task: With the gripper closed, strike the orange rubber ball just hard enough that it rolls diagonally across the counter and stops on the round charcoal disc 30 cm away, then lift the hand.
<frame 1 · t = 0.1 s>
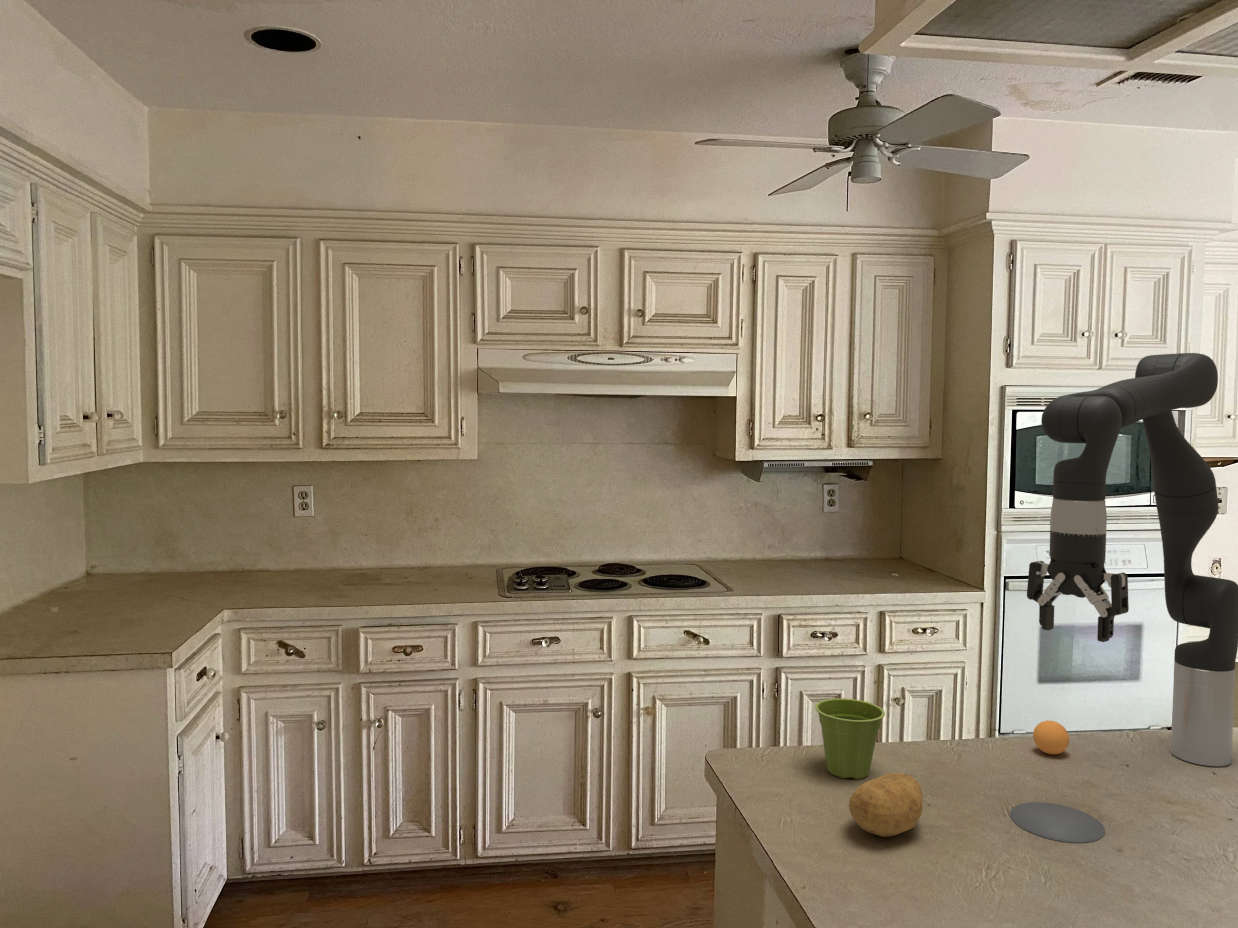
hand: (1074, 634, 133), 29 cm above the counter, tool pointing down, fingers open, 8 cm apart
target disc: (1056, 822, 135), on the counter
potato: (887, 831, 132), on the counter
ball: (1051, 737, 162), on the counter
plant pot: (848, 772, 154), on the counter
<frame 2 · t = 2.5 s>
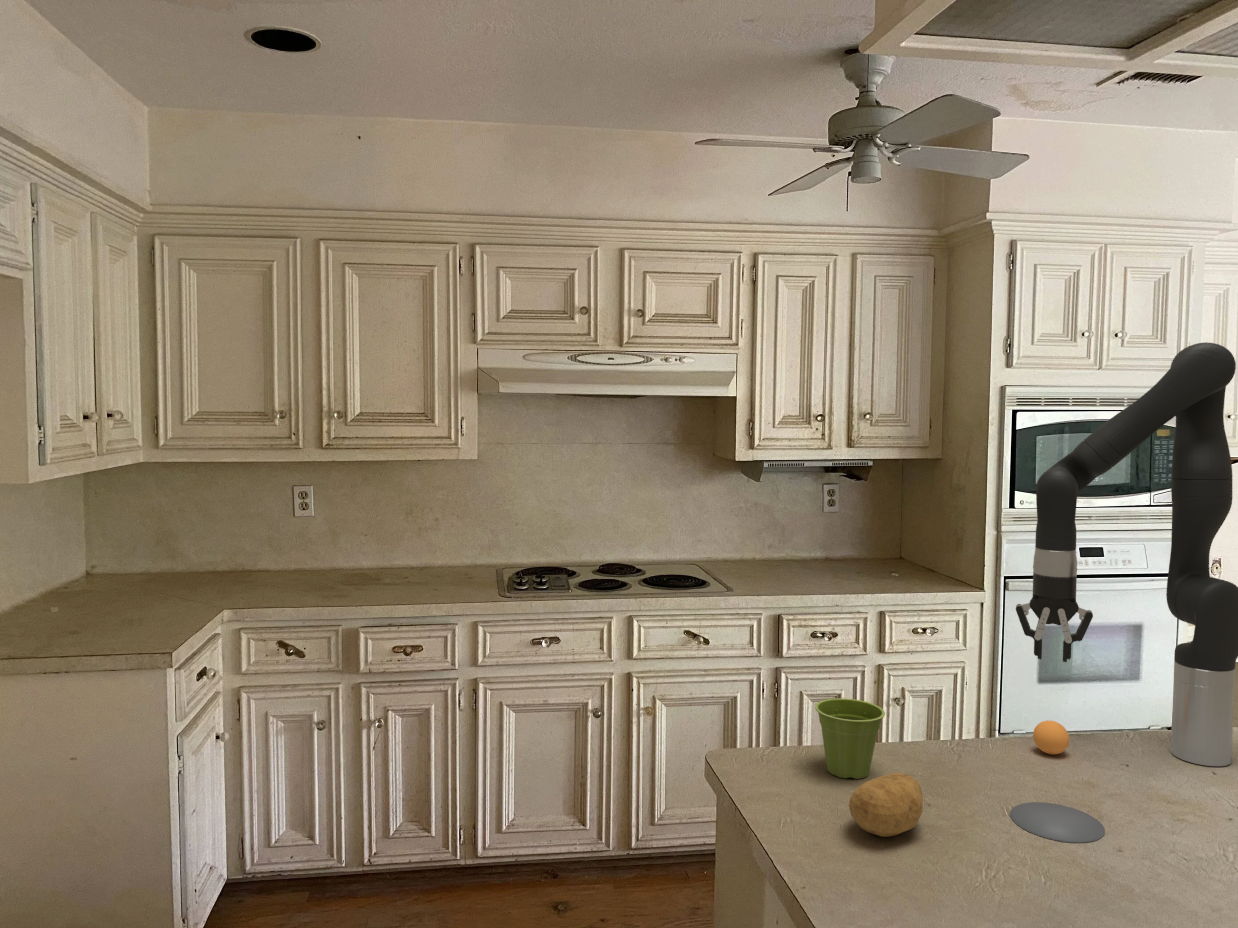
hand: (1052, 659, 170), 15 cm above the counter, tool pointing down, fingers open, 3 cm apart
nothing on the counter moved.
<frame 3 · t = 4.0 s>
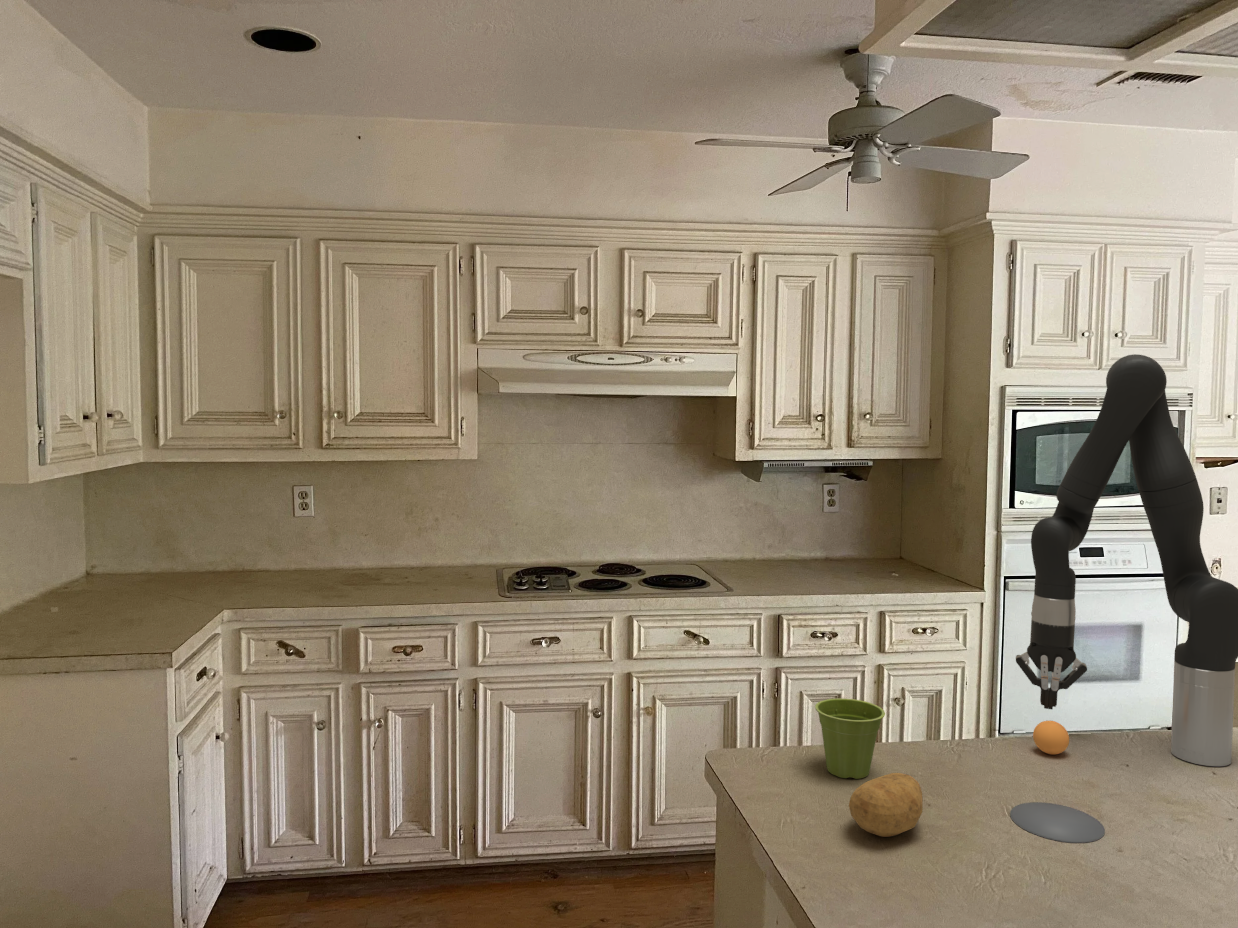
hand: (1048, 707, 169), 6 cm above the counter, tool pointing down, fingers closed
nothing on the counter moved.
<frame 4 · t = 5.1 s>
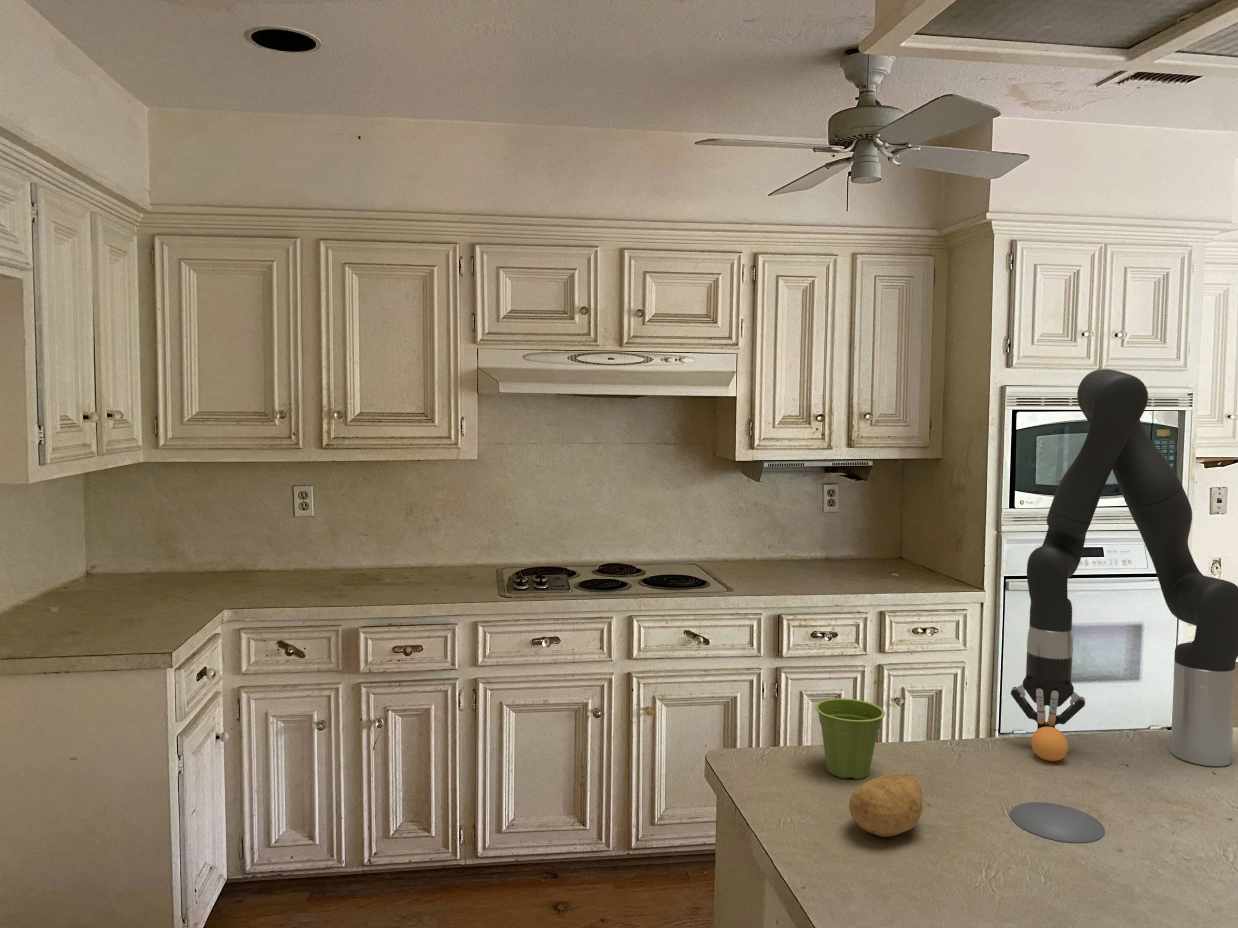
hand: (1045, 742, 163), 2 cm above the counter, tool pointing down, fingers closed
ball: (1049, 743, 159), on the counter, touching gripper
everything else where it was.
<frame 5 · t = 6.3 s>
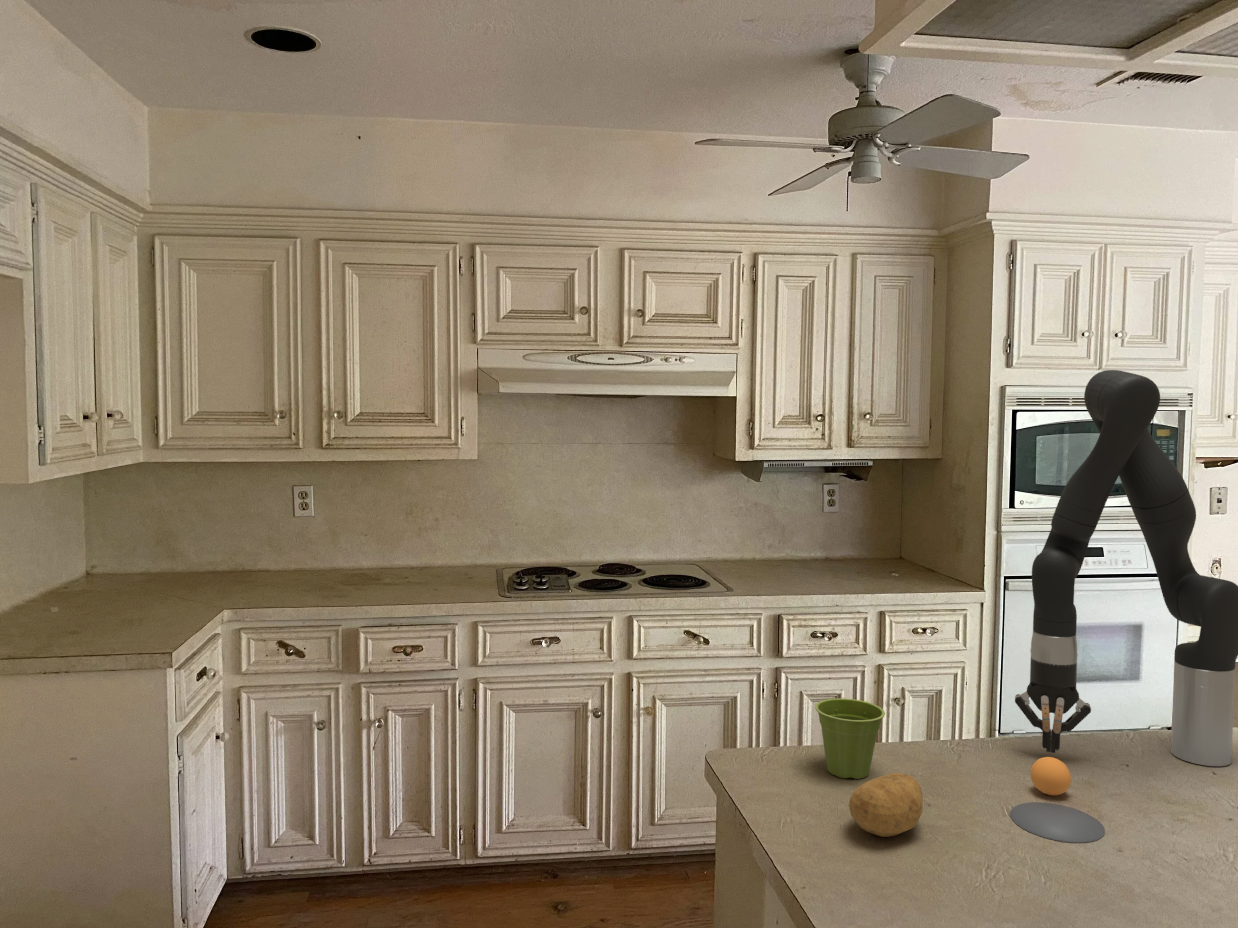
hand: (1050, 750, 159), 1 cm above the counter, tool pointing down, fingers closed
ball: (1050, 775, 145), on the counter
everything else where it was.
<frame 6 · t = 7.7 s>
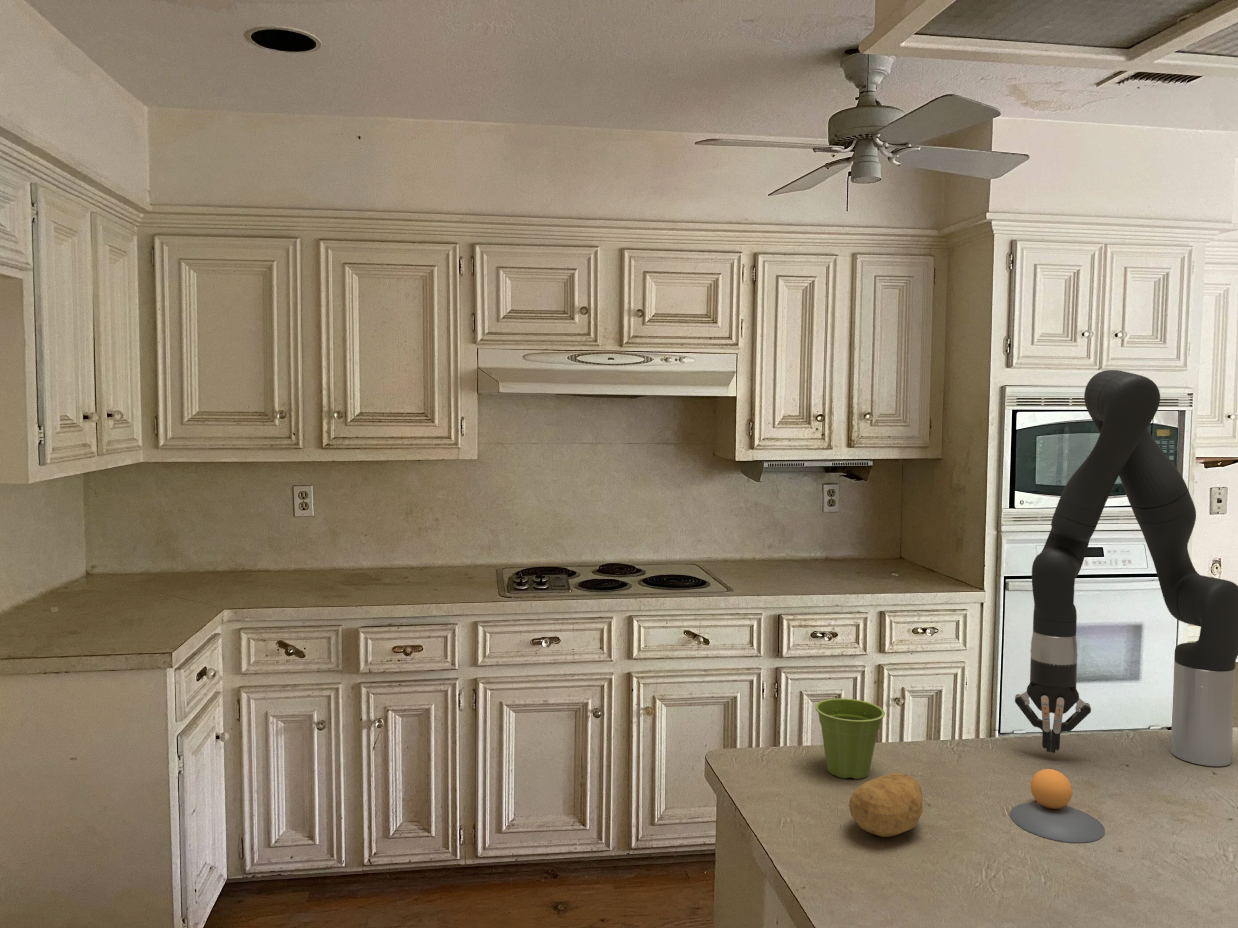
hand: (1050, 750, 159), 1 cm above the counter, tool pointing down, fingers closed
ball: (1051, 788, 140), resting on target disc
everything else where it was.
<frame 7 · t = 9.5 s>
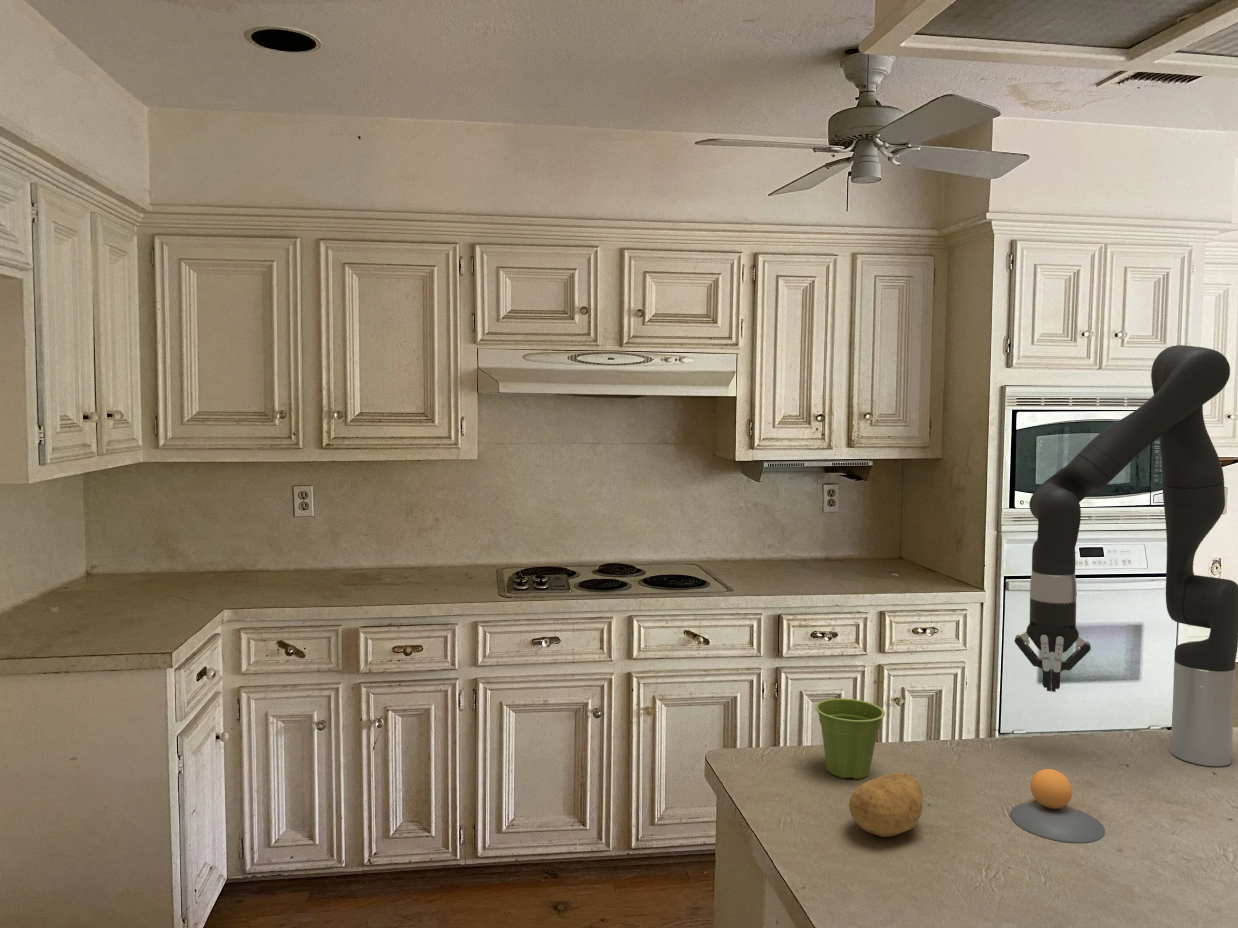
hand: (1051, 690, 159), 12 cm above the counter, tool pointing down, fingers closed
nothing on the counter moved.
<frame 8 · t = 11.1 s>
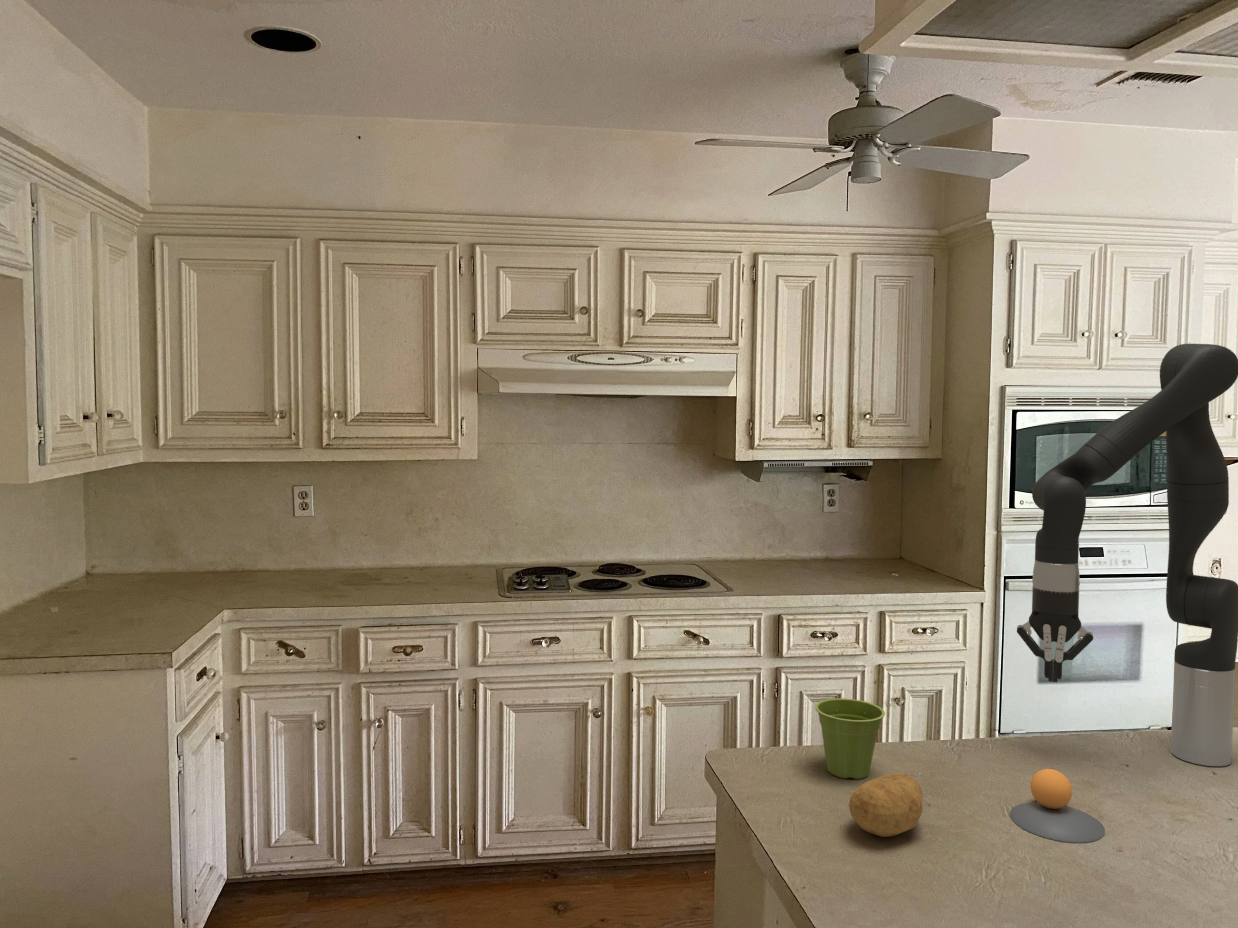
hand: (1052, 680, 158), 14 cm above the counter, tool pointing down, fingers closed
nothing on the counter moved.
at the end: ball 5.4 cm from the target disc (horizontally); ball at rest at the end (0.0 cm/s); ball moved 24.6 cm from its start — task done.
